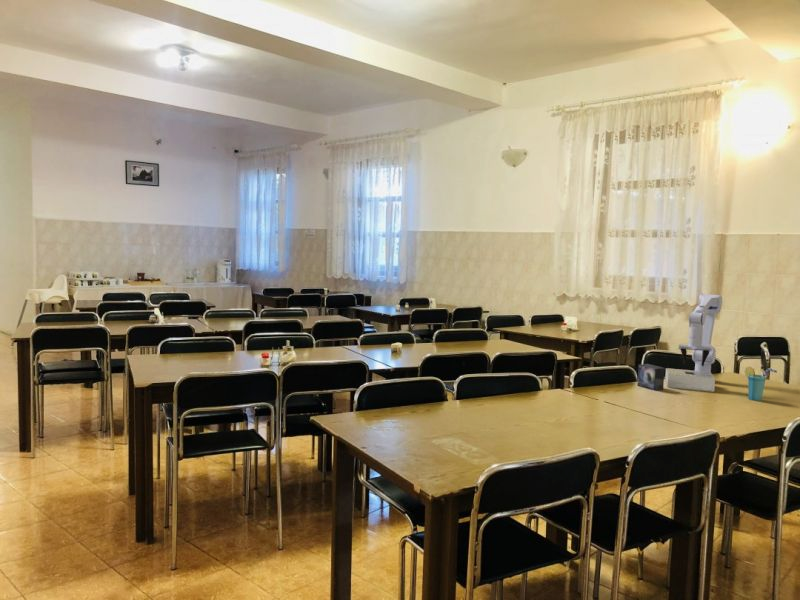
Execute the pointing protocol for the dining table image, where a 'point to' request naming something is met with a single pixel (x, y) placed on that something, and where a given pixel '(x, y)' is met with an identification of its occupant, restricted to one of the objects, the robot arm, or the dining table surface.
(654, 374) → the small box
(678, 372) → the cash box
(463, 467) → the dining table surface
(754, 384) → the cup
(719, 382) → the dining table surface
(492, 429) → the dining table surface
